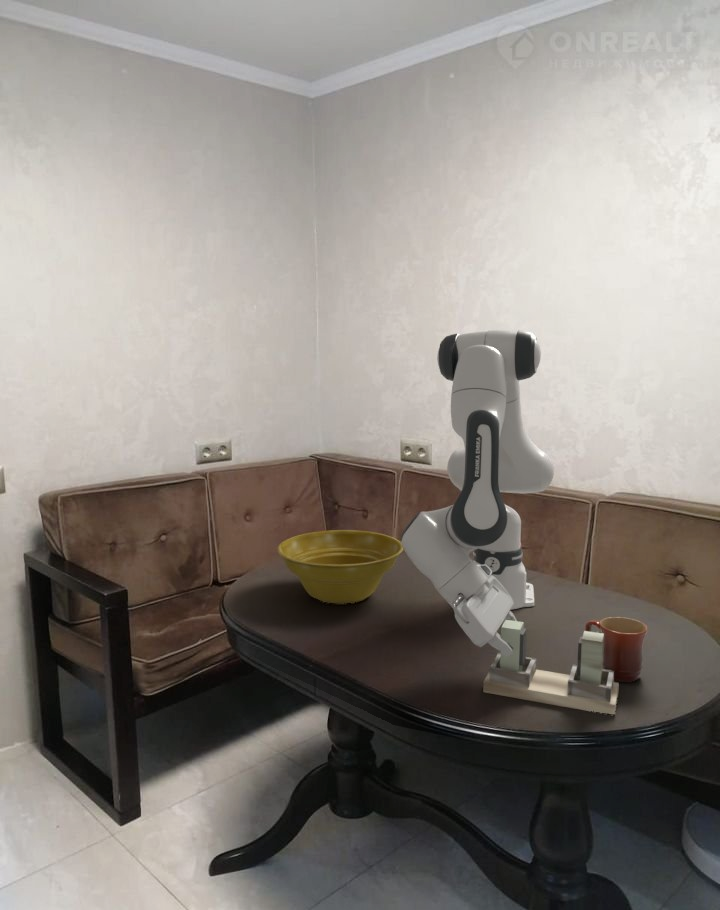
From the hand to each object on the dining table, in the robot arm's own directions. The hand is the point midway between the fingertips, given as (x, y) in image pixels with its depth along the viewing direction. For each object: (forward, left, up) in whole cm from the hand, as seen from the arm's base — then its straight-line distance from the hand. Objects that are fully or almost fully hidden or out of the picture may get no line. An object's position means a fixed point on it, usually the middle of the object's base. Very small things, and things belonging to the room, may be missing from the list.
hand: (515, 643), depth 135 cm
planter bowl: (-34, -51, -9) cm, 62 cm away
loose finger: (0, -1, -6) cm, 6 cm away
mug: (-13, +17, -9) cm, 23 cm away
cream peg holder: (0, +7, -8) cm, 11 cm away
